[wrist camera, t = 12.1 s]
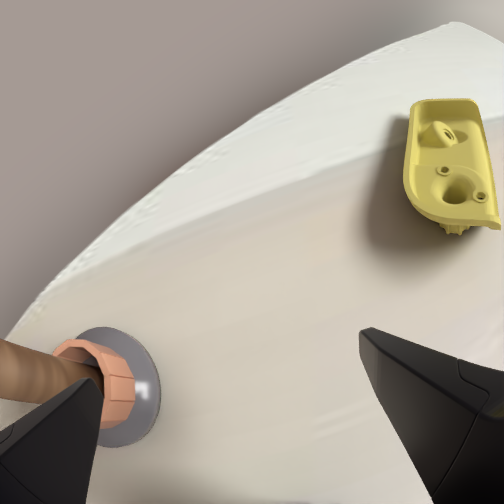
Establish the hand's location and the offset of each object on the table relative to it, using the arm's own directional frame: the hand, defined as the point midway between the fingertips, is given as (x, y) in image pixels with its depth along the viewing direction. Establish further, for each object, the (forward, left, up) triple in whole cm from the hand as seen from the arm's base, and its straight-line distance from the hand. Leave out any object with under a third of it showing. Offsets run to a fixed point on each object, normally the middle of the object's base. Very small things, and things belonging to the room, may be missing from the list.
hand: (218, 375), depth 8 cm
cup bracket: (0, +14, -14) cm, 20 cm away
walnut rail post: (0, +14, -13) cm, 19 cm away
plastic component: (+16, -22, -14) cm, 30 cm away
